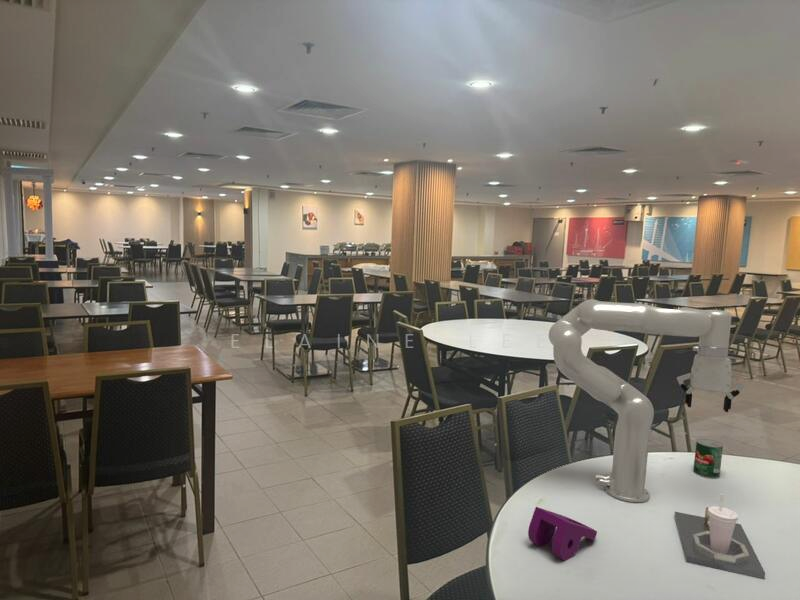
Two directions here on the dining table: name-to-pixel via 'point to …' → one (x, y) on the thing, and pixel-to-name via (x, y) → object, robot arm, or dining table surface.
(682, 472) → the dining table surface
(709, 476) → the canned tomato
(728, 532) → the smoothie
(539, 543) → the mounting bracket
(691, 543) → the grey base plate
